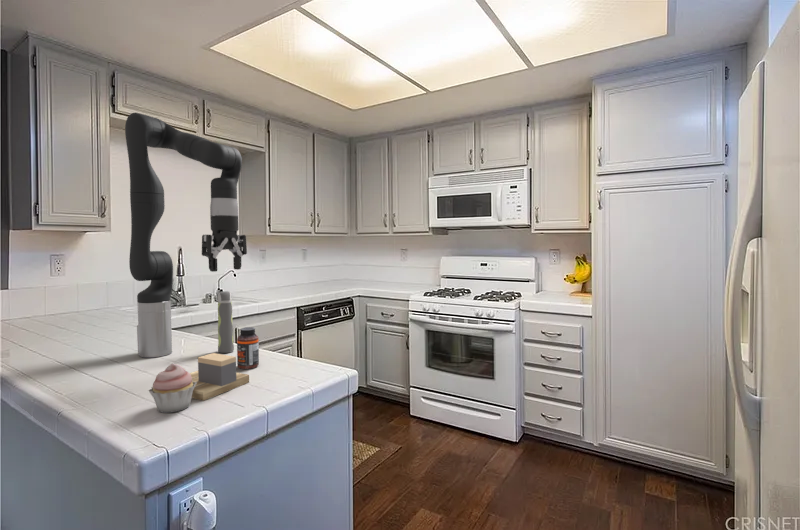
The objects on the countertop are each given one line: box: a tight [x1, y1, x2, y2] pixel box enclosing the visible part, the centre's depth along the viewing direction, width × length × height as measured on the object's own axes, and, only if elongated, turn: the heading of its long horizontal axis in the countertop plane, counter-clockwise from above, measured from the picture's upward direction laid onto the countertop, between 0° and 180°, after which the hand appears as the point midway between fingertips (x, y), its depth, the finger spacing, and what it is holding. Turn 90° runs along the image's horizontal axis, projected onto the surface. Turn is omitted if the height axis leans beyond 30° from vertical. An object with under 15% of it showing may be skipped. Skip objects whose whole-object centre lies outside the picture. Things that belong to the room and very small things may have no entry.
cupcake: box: [147, 363, 197, 414], centre depth 93 cm, size 9×9×10 cm
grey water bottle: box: [217, 290, 235, 354], centre depth 139 cm, size 5×5×20 cm
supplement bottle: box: [236, 326, 260, 370], centre depth 123 cm, size 6×6×11 cm
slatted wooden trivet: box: [189, 370, 250, 402], centre depth 107 cm, size 15×14×2 cm
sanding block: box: [197, 352, 237, 386], centre depth 105 cm, size 8×4×6 cm, turn 64°
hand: (225, 270), depth 124 cm, fingers open, 8 cm apart
